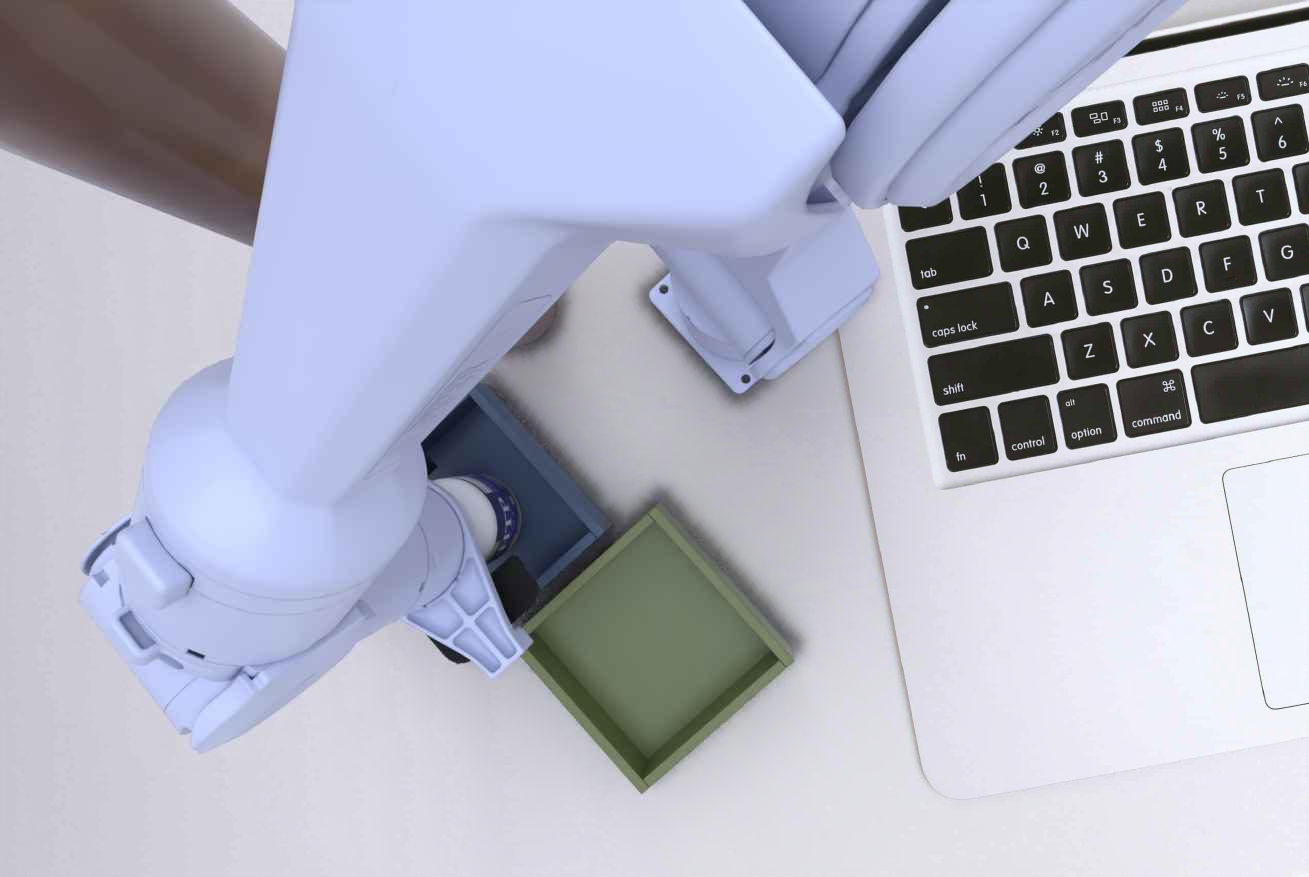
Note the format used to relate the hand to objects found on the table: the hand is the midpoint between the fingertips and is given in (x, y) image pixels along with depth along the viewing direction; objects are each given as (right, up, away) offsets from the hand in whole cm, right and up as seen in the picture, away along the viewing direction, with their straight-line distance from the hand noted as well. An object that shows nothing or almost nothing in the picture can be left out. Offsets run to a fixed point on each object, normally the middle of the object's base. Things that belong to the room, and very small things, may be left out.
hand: (464, 523), depth 48 cm
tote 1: (0, 0, +3) cm, 3 cm away
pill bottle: (0, 0, +3) cm, 3 cm away
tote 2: (+11, -7, +3) cm, 13 cm away
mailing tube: (+2, +13, +3) cm, 13 cm away
